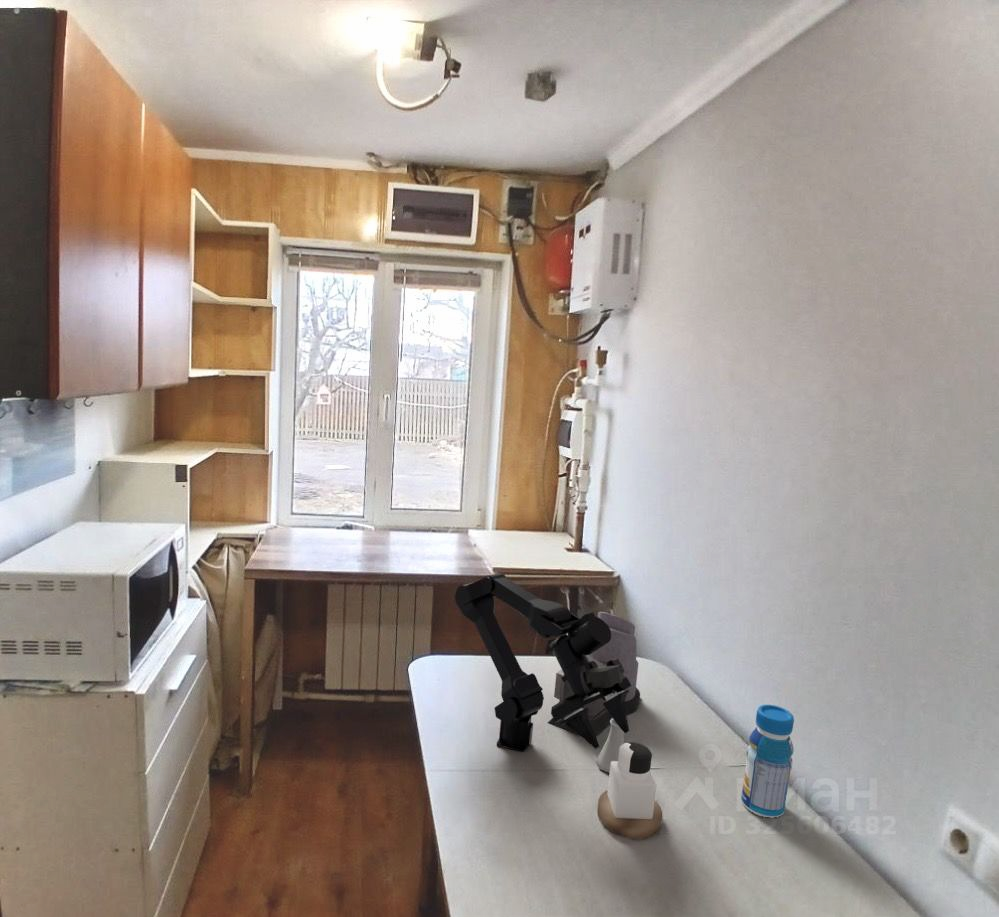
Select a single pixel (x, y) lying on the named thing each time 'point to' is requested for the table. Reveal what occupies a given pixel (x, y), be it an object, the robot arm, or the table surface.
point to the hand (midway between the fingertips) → (612, 740)
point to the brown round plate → (628, 821)
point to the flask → (611, 747)
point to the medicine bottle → (632, 783)
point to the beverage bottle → (768, 762)
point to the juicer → (616, 648)
